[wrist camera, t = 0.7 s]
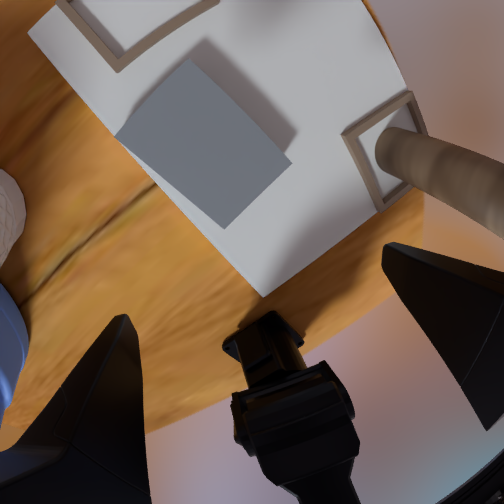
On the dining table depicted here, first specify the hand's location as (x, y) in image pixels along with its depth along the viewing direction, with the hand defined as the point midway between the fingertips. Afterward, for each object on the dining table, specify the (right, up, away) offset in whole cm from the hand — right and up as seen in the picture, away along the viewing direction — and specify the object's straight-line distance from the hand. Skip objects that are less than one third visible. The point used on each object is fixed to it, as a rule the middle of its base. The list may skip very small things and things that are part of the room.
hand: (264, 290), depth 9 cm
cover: (-3, +8, +8) cm, 12 cm away
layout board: (0, +13, +8) cm, 15 cm away
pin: (+11, +9, +12) cm, 19 cm away
